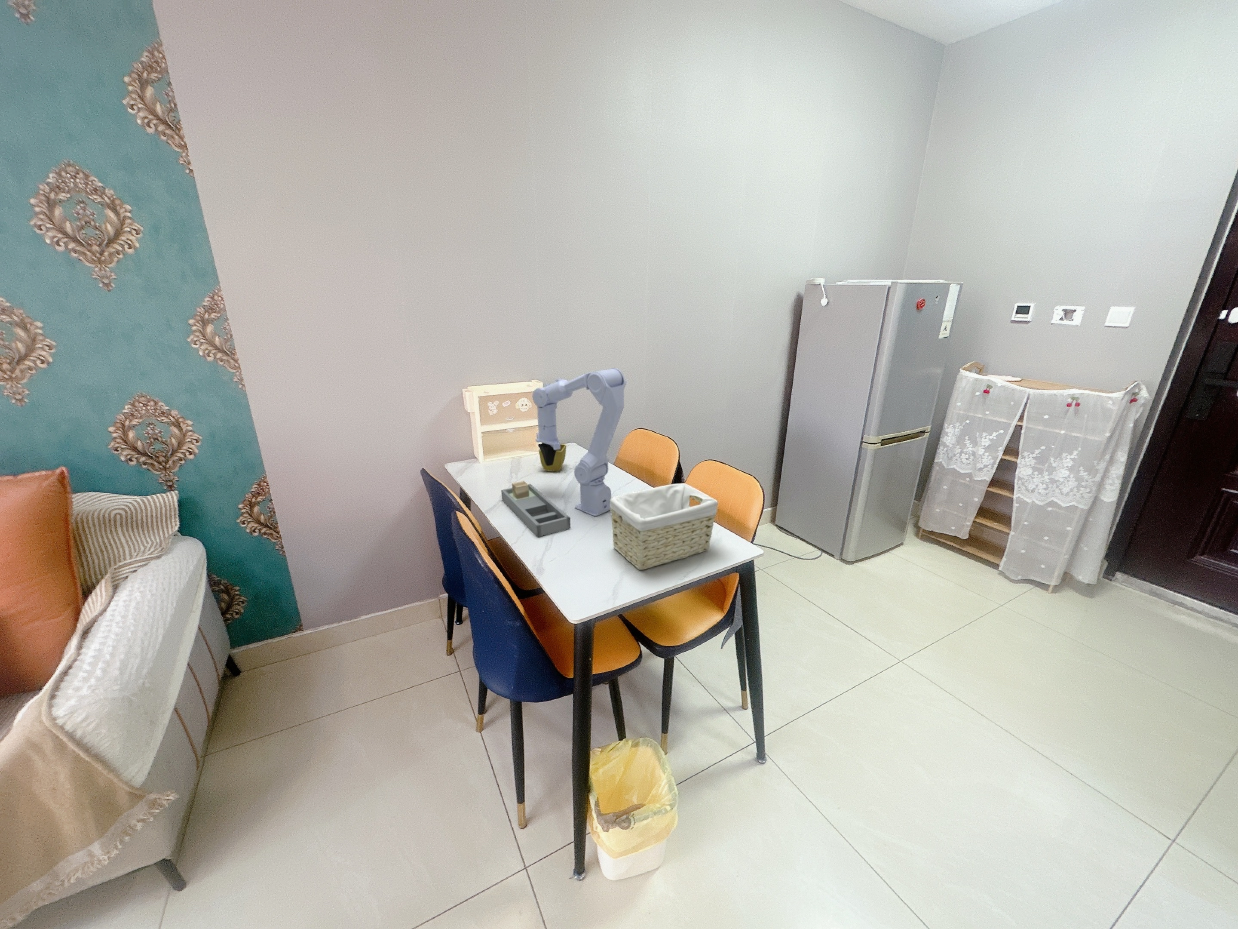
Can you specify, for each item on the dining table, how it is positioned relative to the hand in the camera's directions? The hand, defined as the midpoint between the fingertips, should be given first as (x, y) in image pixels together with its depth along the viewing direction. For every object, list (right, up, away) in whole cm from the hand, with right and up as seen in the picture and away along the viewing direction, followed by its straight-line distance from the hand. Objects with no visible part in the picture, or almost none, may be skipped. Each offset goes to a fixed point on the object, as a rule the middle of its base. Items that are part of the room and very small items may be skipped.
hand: (549, 464), depth 158 cm
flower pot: (-2, -2, +26) cm, 26 cm away
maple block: (-9, -10, -3) cm, 13 cm away
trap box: (-3, -15, -11) cm, 18 cm away
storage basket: (+34, -22, -31) cm, 51 cm away
